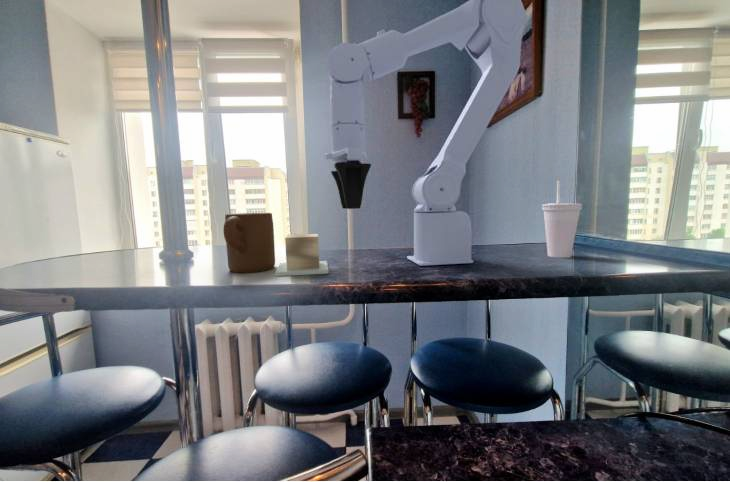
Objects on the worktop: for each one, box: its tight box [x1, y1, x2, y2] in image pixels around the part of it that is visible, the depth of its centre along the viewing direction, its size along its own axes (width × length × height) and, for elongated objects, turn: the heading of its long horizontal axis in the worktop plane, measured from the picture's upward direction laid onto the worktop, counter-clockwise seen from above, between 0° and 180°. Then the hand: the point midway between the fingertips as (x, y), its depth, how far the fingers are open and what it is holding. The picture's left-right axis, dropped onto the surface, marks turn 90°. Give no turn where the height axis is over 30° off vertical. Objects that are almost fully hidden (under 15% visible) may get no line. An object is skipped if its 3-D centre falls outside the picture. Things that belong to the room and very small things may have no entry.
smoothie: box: [541, 180, 583, 259], centre depth 59 cm, size 6×6×14 cm
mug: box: [223, 212, 276, 274], centre depth 52 cm, size 12×8×9 cm, turn 178°
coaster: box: [274, 260, 330, 277], centre depth 53 cm, size 8×8×1 cm
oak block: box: [284, 233, 320, 270], centre depth 53 cm, size 5×5×5 cm
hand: (350, 208), depth 56 cm, fingers open, 7 cm apart
